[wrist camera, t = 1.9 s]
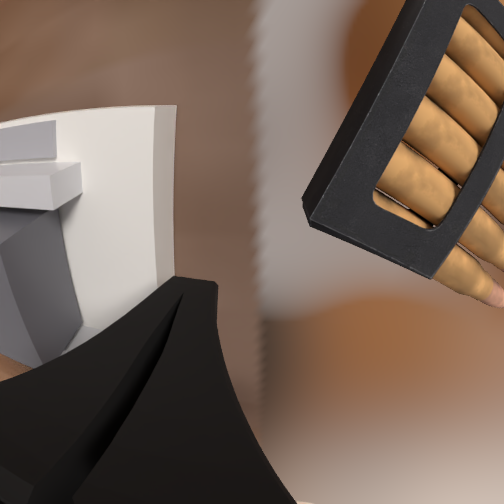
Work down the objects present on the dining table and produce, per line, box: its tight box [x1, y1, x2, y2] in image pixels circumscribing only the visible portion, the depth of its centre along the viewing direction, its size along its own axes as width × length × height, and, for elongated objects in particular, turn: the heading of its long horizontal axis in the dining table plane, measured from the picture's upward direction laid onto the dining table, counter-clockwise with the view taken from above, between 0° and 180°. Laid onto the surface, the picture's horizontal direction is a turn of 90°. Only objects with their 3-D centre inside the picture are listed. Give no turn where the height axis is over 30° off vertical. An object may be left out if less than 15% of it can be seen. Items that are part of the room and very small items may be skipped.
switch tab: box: [0, 207, 83, 369], centre depth 8 cm, size 5×4×3 cm
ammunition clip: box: [302, 0, 504, 308], centre depth 8 cm, size 11×2×12 cm
